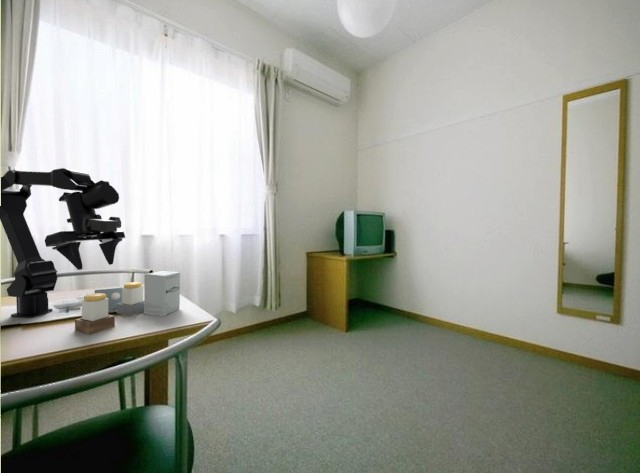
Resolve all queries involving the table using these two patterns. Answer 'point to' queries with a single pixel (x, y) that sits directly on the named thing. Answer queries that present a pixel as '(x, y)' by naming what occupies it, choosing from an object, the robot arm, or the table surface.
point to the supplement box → (161, 292)
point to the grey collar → (130, 308)
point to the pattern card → (112, 296)
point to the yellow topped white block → (132, 293)
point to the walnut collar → (94, 325)
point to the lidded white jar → (94, 307)
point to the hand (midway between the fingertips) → (96, 266)
